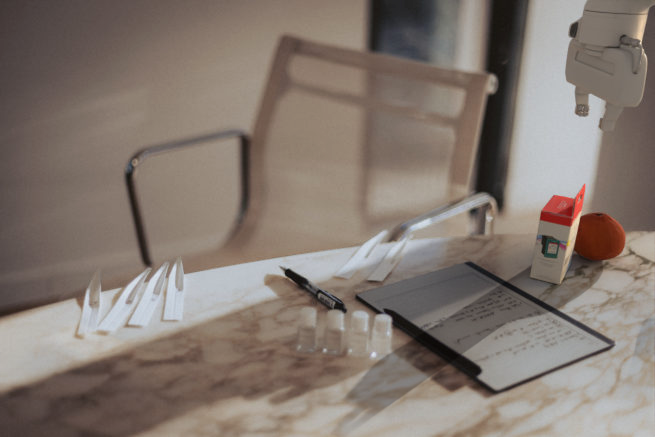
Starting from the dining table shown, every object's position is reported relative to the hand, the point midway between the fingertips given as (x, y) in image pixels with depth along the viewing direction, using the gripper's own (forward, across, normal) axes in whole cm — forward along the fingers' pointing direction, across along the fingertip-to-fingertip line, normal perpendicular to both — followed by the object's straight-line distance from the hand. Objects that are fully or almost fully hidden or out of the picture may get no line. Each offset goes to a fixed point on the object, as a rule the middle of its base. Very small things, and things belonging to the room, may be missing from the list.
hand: (592, 122), depth 98 cm
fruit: (+24, 0, -4) cm, 24 cm away
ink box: (+24, -6, +5) cm, 25 cm away
